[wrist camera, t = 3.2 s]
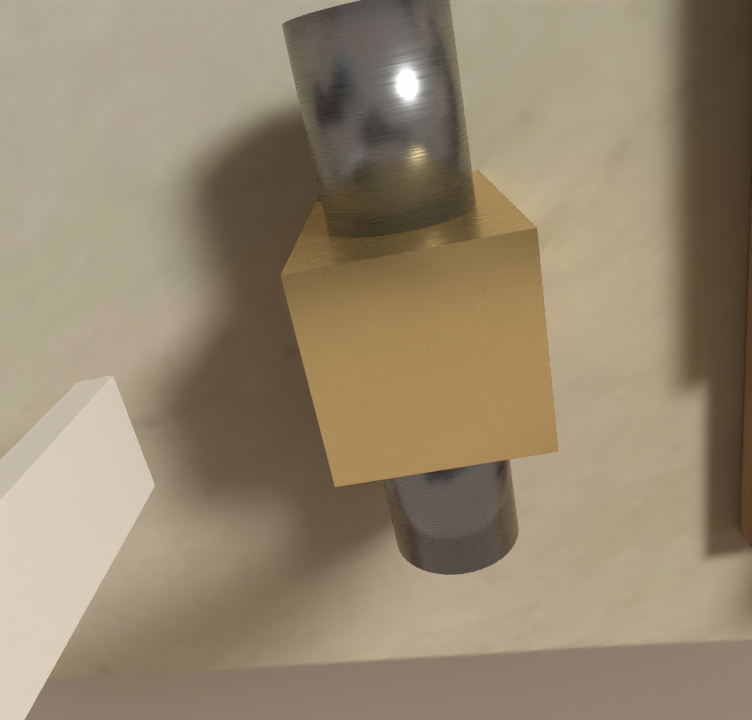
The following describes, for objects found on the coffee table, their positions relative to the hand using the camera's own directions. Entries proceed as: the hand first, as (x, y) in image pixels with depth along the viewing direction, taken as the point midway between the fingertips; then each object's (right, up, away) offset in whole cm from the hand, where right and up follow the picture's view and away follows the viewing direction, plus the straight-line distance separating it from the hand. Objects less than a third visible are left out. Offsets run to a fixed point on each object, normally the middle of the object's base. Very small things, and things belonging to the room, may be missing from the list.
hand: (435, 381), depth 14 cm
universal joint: (0, +3, +8) cm, 8 cm away
